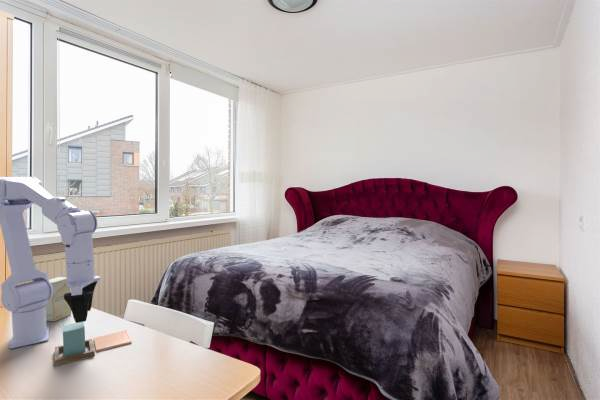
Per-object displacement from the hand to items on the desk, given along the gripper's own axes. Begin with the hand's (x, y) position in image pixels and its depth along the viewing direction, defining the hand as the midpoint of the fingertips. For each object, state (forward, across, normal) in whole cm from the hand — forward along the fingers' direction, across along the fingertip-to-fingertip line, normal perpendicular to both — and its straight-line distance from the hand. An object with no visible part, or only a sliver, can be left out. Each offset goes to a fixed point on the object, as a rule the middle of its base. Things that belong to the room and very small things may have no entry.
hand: (83, 316), depth 84 cm
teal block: (+10, +2, +3) cm, 10 cm away
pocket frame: (+10, +2, +3) cm, 10 cm away
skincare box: (+9, +31, +11) cm, 34 cm away
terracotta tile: (+10, +5, -5) cm, 12 cm away
